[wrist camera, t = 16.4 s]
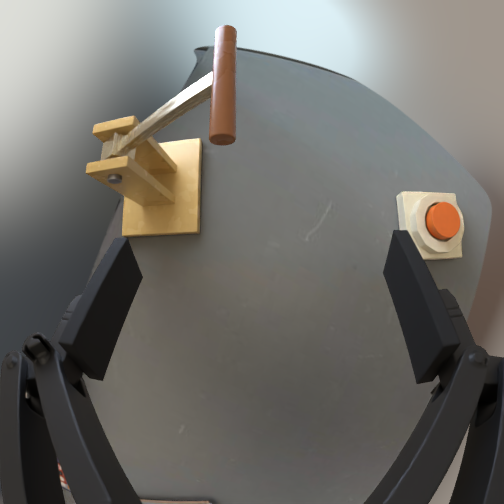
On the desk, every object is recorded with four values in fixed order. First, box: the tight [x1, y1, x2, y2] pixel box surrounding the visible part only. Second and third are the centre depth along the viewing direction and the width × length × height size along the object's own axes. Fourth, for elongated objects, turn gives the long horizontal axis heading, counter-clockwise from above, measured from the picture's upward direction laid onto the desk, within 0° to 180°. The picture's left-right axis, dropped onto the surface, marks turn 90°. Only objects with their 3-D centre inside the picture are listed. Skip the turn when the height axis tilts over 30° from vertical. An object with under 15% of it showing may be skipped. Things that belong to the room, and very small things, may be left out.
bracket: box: [86, 116, 202, 237], centre depth 30 cm, size 10×12×14 cm
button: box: [426, 202, 460, 240], centre depth 29 cm, size 4×4×2 cm
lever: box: [101, 25, 237, 160], centre depth 21 cm, size 16×9×2 cm
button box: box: [396, 191, 464, 260], centre depth 31 cm, size 8×8×4 cm
